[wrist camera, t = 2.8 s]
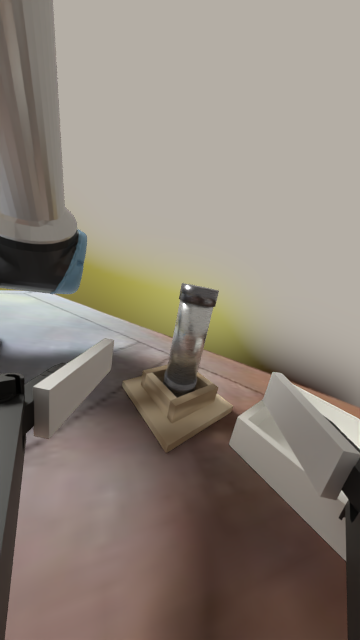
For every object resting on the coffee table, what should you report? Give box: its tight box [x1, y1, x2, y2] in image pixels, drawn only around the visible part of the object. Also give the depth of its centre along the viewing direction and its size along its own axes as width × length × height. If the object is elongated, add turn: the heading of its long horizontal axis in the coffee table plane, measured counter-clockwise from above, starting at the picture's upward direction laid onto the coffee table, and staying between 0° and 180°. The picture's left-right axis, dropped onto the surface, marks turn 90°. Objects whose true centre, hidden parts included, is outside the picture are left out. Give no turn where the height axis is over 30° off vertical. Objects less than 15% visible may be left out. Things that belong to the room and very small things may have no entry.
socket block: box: [122, 365, 233, 453], centre depth 26 cm, size 12×12×4 cm
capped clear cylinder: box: [163, 283, 219, 398], centre depth 24 cm, size 5×5×16 cm
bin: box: [229, 385, 360, 561], centre depth 19 cm, size 16×16×4 cm
